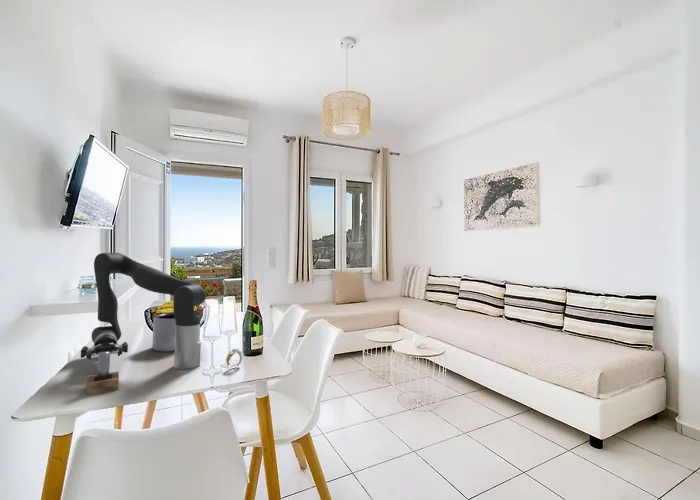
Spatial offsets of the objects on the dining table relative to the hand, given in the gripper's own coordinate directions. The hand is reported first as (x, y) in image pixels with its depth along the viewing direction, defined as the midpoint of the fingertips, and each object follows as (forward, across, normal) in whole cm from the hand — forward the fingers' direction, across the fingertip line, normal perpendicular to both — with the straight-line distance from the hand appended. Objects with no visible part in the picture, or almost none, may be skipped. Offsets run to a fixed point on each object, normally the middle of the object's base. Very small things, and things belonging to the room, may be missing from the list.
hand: (104, 354), depth 122 cm
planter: (-32, +26, +9) cm, 42 cm away
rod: (+8, 0, +9) cm, 12 cm away
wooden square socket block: (+8, 0, +9) cm, 12 cm away
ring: (+10, +44, +9) cm, 46 cm away
